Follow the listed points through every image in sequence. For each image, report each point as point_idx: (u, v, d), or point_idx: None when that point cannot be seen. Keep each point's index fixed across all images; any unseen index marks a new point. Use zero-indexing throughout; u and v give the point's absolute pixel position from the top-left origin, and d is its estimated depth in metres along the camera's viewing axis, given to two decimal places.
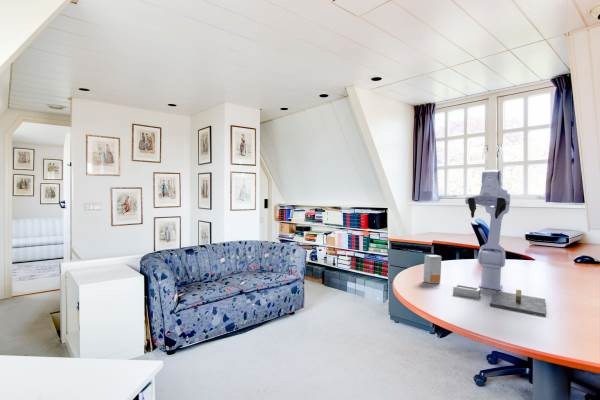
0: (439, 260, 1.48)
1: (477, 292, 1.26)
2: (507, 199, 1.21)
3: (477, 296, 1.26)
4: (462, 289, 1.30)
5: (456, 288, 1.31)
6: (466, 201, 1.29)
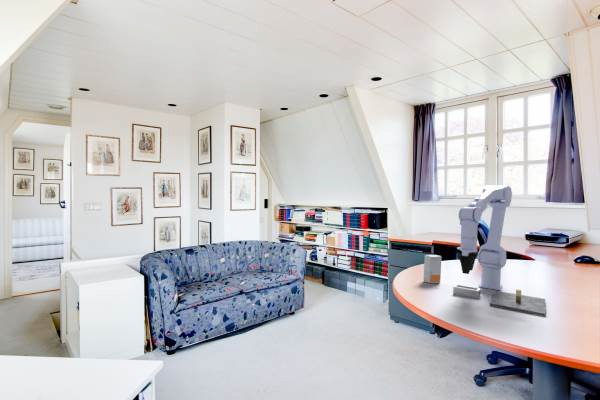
0: (439, 260, 1.48)
1: (477, 292, 1.26)
2: None
3: (477, 296, 1.26)
4: (462, 289, 1.30)
5: (456, 288, 1.31)
6: None
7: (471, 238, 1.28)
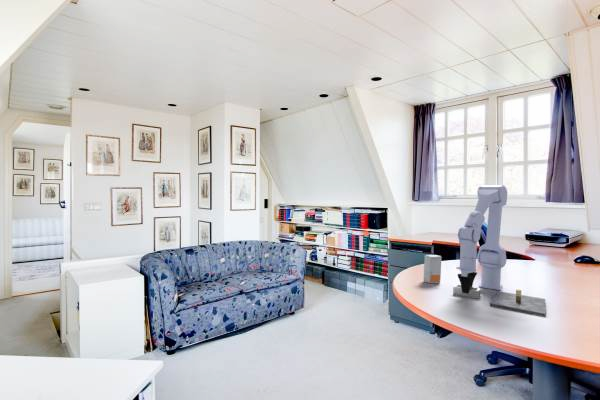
0: (439, 260, 1.48)
1: (477, 292, 1.26)
2: None
3: (477, 296, 1.26)
4: None
5: (456, 288, 1.31)
6: None
7: (470, 258, 1.28)
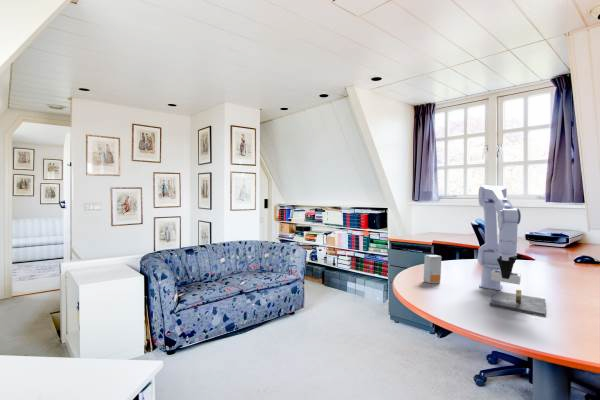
0: (439, 260, 1.48)
1: (518, 277, 1.19)
2: (502, 257, 1.19)
3: (518, 282, 1.19)
4: None
5: (494, 273, 1.24)
6: None
7: (511, 242, 1.21)
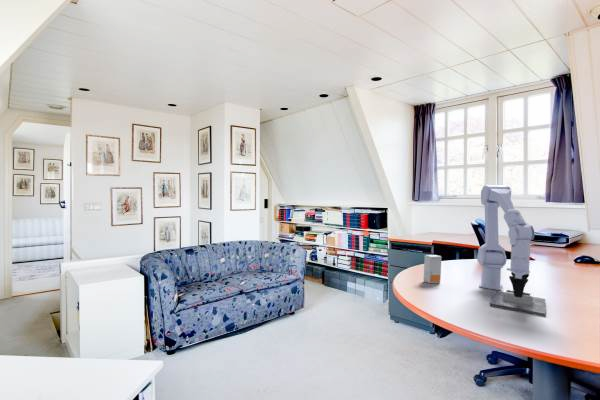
0: (439, 260, 1.48)
1: (531, 298, 1.17)
2: (515, 275, 1.17)
3: (531, 302, 1.17)
4: (513, 295, 1.20)
5: (506, 293, 1.22)
6: None
7: (524, 259, 1.19)
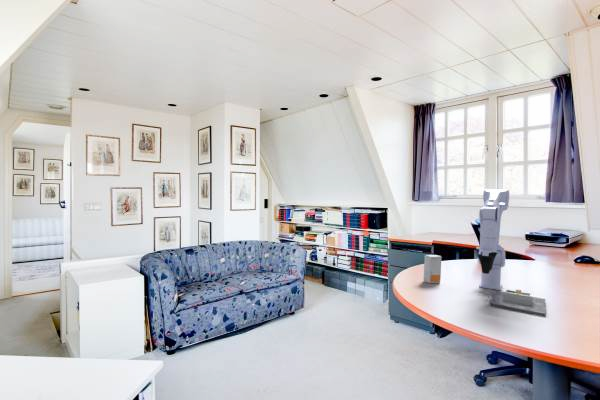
0: (439, 260, 1.48)
1: (531, 298, 1.17)
2: None
3: (531, 302, 1.17)
4: (513, 295, 1.20)
5: (506, 293, 1.22)
6: None
7: (491, 238, 1.28)
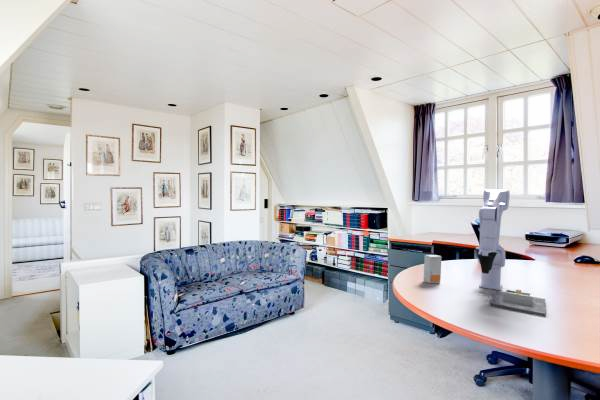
0: (439, 260, 1.48)
1: (531, 298, 1.17)
2: (482, 252, 1.26)
3: (531, 302, 1.17)
4: (513, 295, 1.20)
5: (506, 293, 1.22)
6: None
7: (491, 238, 1.28)
